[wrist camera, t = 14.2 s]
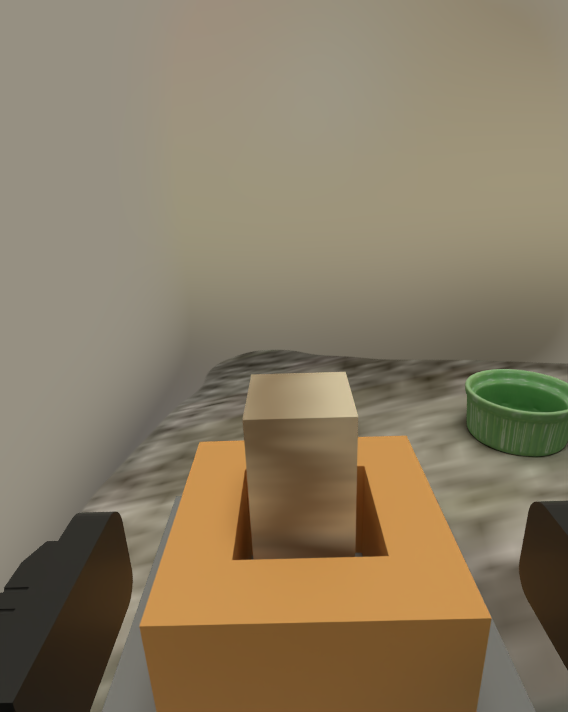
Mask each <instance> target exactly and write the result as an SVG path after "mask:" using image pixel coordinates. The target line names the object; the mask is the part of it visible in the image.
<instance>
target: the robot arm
mask: <svg viewBox="0 0 568 712" xmlns="http://www.w3.org/2000/svg"><path fill="white" fill-rule="evenodd" d="M519 574H520V580H521V584H522V588H523V591H524V593H525V596H526V598H527V600H528V602H529V603H530V605H531V607H532V609H533V610H534V612H535V614H536V616H537V617H538V619H539V621H540V623H541V624H542V626H543V628H544V630H545V631H546V633H547V635H548V637H549V638H550V640H551V642H552V644H553V645H554V647H555V649H556V651H557V652H558V654H559V656H560V658H561V659H562V661H563V663H564V665H565V666H566V668H567V670H568V501H543V502H534V503H532V505H531V506H530V508H529V512H528V517H527V523H526V528H525V534H524V539H523V545H522V551H521V556H520V562H519ZM132 583H133V576H132V568H131V563H130V558H129V553H128V547H127V542H126V537H125V532H124V527H123V522H122V518H121V516H120V514H119V513H118V512H86V513H78V514H76V515H75V516H74V517H73V518H72V520H71V521H70V523H69V525H68V526H67V528H66V530H65V531H64V533H63V534H62V536H61V537H60V539H59V541H47V542H45V543H44V544H43V545H42V546H41V547H39V549H37V550H36V551H35V552H34V553H32V554H31V555H30V556H29V557H28V558H26V559H25V560H24V561H23V562H22V563H21V564H20V566H19V567H18V568H17V570H16V571H15V573H14V574H13V576H12V577H11V579H10V580H9V582H8V583H7V584H6V586H5V587H4V592H3V593H0V712H90V709H91V706H92V704H93V701H94V698H95V696H96V693H97V690H98V687H99V685H100V682H101V679H102V677H103V674H104V671H105V669H106V666H107V663H108V660H109V658H110V655H111V652H112V650H113V647H114V644H115V642H116V639H117V636H118V633H119V631H120V628H121V625H122V623H123V620H124V617H125V614H126V612H127V609H128V606H129V603H130V599H131V593H132Z"/></svg>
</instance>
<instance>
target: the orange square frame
mask: <svg viewBox="0 0 568 712" xmlns="http://www.w3.org/2000/svg"><path fill="white" fill-rule="evenodd" d="M102 712H536V711H535V709H534V707H533V705H532V703H531V700H530V698H529V696H528V694H527V692H526V690H525V688H524V685H523V683H522V681H521V679H520V677H519V675H518V673H517V671H516V668H515V666H514V664H513V662H512V660H511V658H510V656H509V653H508V651H507V649H506V647H505V645H504V643H503V641H502V638H501V636H500V634H499V632H498V630H497V628H496V626H495V623H494V621H493V619H492V617H491V615H490V613H489V611H488V608H487V606H486V604H485V602H484V600H483V598H482V596H481V594H480V591H479V589H478V587H477V585H476V583H475V581H474V579H473V576H472V574H471V572H470V570H469V568H468V566H467V564H466V561H465V559H464V557H463V555H462V553H461V551H460V549H459V546H458V544H457V542H456V540H455V538H454V536H453V534H452V531H451V529H450V527H449V525H448V523H447V521H446V519H445V517H444V514H443V512H442V510H441V508H440V506H439V504H438V502H437V499H436V497H435V495H434V493H433V491H432V489H431V487H430V485H429V483H428V481H427V479H426V476H425V474H424V472H423V470H422V468H421V466H420V464H419V461H418V459H417V457H416V455H415V453H414V451H413V449H412V446H411V444H410V442H409V440H408V438H407V436H383V437H358V448H357V495H356V541H355V557H337V558H298V559H259V560H253V547H252V534H251V521H250V508H249V496H248V483H247V470H246V457H245V444H244V441H216V442H200V443H199V446H198V449H197V452H196V455H195V458H194V461H193V464H192V467H191V470H190V473H189V476H188V479H187V482H186V485H185V488H184V492H183V495H182V496H176V499H175V502H174V505H173V507H172V510H171V513H170V516H169V519H168V522H167V525H166V528H165V531H164V533H163V536H162V539H161V542H160V545H159V548H158V551H157V554H156V557H155V560H154V562H153V565H152V568H151V571H150V574H149V577H148V580H147V583H146V586H145V588H144V591H143V594H142V597H141V600H140V603H139V606H138V609H137V612H136V614H135V617H134V620H133V623H132V626H131V629H130V632H129V635H128V638H127V641H126V643H125V646H124V649H123V652H122V655H121V658H120V661H119V664H118V667H117V669H116V672H115V675H114V678H113V681H112V684H111V687H110V690H109V693H108V696H107V698H106V701H105V704H104V707H103V710H102Z"/></svg>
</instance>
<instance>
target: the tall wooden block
mask: <svg viewBox="0 0 568 712" xmlns="http://www.w3.org/2000/svg"><path fill="white" fill-rule="evenodd" d="M243 431H244V444H245V457H246V470H247V483H248V496H249V508H250V521H251V534H252V547H253V560H259V559H298V558H337V557H355V541H356V495H357V448H358V414H357V411H356V407H355V404H354V400H353V397H352V393H351V390H350V386H349V383H348V379H347V376H346V372H326V373H292V374H258V375H251V380H250V385H249V390H248V395H247V400H246V405H245V411H244V416H243Z"/></svg>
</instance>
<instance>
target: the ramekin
mask: <svg viewBox="0 0 568 712" xmlns="http://www.w3.org/2000/svg"><path fill="white" fill-rule="evenodd" d="M465 389H466V394H467V427H468V429H469V431H470V433H471V434H472V435H473V436H474V437H475V438H476V439H477V440H479V441H480V442H482V443H483V444H485V445H487V446H489V447H491V448H494V449H496V450H499V451H502V452H505V453H509V454H514V455H521V456H546V455H550V454H553V453H556V452H558V451H560V450H562V449H563V448H564V447H565V446H566V444H567V442H568V383H566V382H564V381H562V380H560V379H557V378H554V377H551V376H548V375H544V374H540V373H535V372H529V371H523V370H512V369H496V370H487V371H482V372H478V373H476V374H473V375H472V376H470V377H469V378H468V379H467V381H466V383H465Z"/></svg>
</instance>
